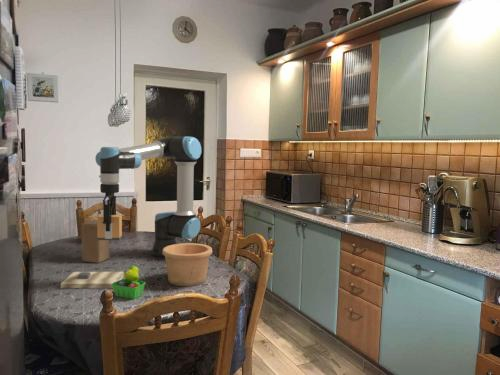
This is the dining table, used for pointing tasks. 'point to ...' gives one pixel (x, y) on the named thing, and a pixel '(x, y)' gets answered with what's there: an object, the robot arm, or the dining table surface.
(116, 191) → the robot arm
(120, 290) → the fruit basket
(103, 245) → the wooden block
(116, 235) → the block
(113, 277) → the birch board
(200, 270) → the pottery
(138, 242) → the dining table surface
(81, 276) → the gray square block
